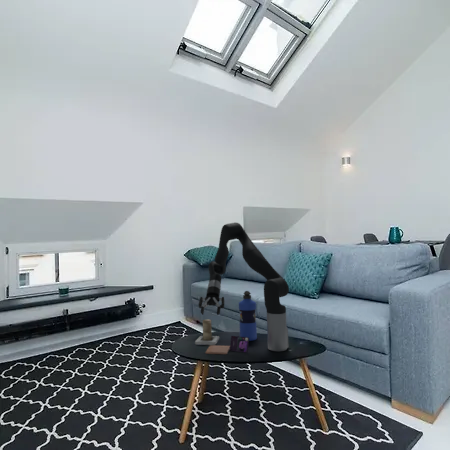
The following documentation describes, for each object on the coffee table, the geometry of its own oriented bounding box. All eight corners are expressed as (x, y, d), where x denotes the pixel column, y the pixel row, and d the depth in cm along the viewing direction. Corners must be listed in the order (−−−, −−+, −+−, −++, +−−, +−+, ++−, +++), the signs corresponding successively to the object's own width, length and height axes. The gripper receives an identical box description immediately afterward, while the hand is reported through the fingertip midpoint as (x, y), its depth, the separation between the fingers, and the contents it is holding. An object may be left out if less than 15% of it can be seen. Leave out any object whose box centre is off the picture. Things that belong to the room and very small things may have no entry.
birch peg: (208, 339, 178) (207, 318, 178) (213, 341, 174) (213, 320, 175) (201, 341, 175) (200, 320, 175) (206, 343, 171) (206, 321, 172)
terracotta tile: (210, 346, 166) (210, 345, 166) (230, 347, 164) (230, 345, 164) (205, 353, 156) (205, 351, 156) (226, 354, 154) (226, 352, 154)
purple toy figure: (230, 335, 161) (248, 337, 158) (234, 336, 166) (251, 338, 162) (229, 350, 159) (246, 352, 155) (233, 350, 163) (250, 353, 160)
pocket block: (200, 338, 180) (200, 335, 181) (219, 339, 179) (219, 336, 179) (195, 344, 170) (195, 341, 170) (215, 345, 168) (215, 342, 168)
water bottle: (256, 335, 183) (254, 289, 184) (258, 340, 174) (256, 292, 175) (239, 336, 183) (237, 290, 184) (240, 341, 174) (238, 292, 175)
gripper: (200, 285, 193) (196, 309, 181) (224, 285, 190) (221, 310, 179) (203, 293, 198) (198, 317, 186) (226, 293, 195) (223, 317, 184)
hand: (210, 313), depth 182 cm, fingers open, 8 cm apart
